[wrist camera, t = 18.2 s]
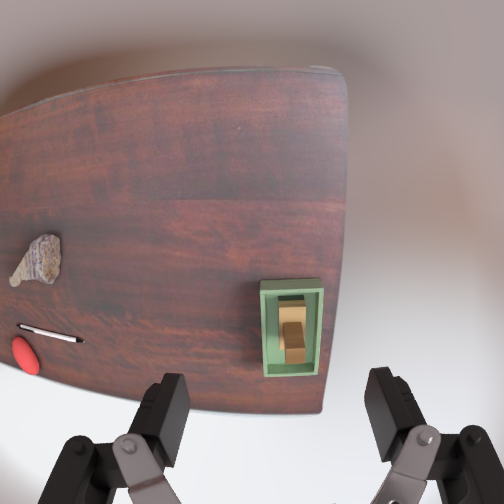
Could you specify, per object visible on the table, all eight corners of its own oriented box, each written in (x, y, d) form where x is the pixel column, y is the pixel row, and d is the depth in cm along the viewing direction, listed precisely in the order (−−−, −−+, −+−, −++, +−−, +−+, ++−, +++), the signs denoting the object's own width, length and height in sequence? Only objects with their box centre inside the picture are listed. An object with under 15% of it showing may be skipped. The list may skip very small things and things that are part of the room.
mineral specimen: (45, 293, 46) (26, 309, 41) (23, 263, 45) (2, 276, 39) (78, 255, 44) (57, 269, 38) (53, 221, 42) (30, 232, 36)
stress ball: (39, 337, 52) (15, 340, 46) (45, 376, 51) (22, 381, 46) (30, 333, 54) (8, 336, 48) (36, 370, 54) (14, 375, 48)
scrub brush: (278, 295, 43) (280, 333, 34) (303, 294, 43) (311, 331, 34) (278, 336, 45) (280, 378, 36) (302, 335, 45) (308, 376, 36)
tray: (260, 280, 43) (259, 290, 40) (319, 277, 43) (323, 287, 40) (263, 364, 48) (263, 377, 45) (315, 361, 48) (317, 374, 44)
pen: (17, 322, 49) (14, 324, 48) (84, 338, 49) (81, 341, 48) (18, 325, 50) (15, 328, 49) (85, 342, 49) (83, 345, 48)
